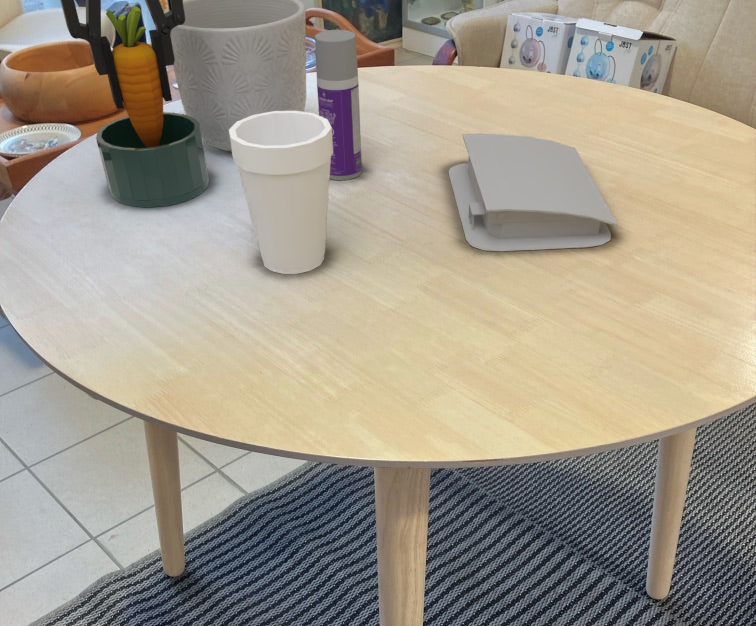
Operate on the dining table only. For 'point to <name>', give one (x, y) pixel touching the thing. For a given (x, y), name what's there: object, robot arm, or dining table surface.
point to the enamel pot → (154, 162)
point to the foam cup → (286, 185)
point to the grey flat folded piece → (527, 195)
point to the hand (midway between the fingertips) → (142, 100)
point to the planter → (239, 61)
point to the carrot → (138, 78)
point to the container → (340, 99)
